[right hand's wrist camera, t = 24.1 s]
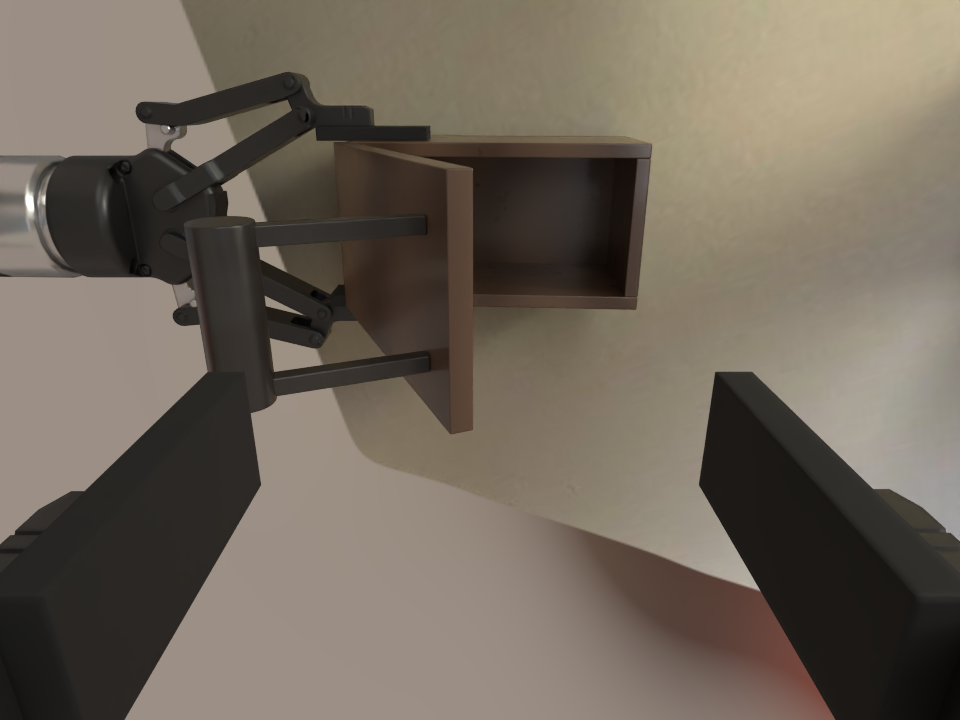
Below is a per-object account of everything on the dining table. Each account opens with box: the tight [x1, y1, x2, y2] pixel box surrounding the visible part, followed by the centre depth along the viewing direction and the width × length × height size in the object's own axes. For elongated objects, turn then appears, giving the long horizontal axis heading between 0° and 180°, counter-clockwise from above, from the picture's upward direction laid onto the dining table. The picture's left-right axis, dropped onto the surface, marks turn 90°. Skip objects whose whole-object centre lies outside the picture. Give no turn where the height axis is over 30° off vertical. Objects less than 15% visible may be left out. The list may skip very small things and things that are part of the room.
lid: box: [184, 142, 473, 434], centre depth 28 cm, size 18×10×9 cm
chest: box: [346, 135, 652, 310], centre depth 41 cm, size 17×10×9 cm, turn 90°
